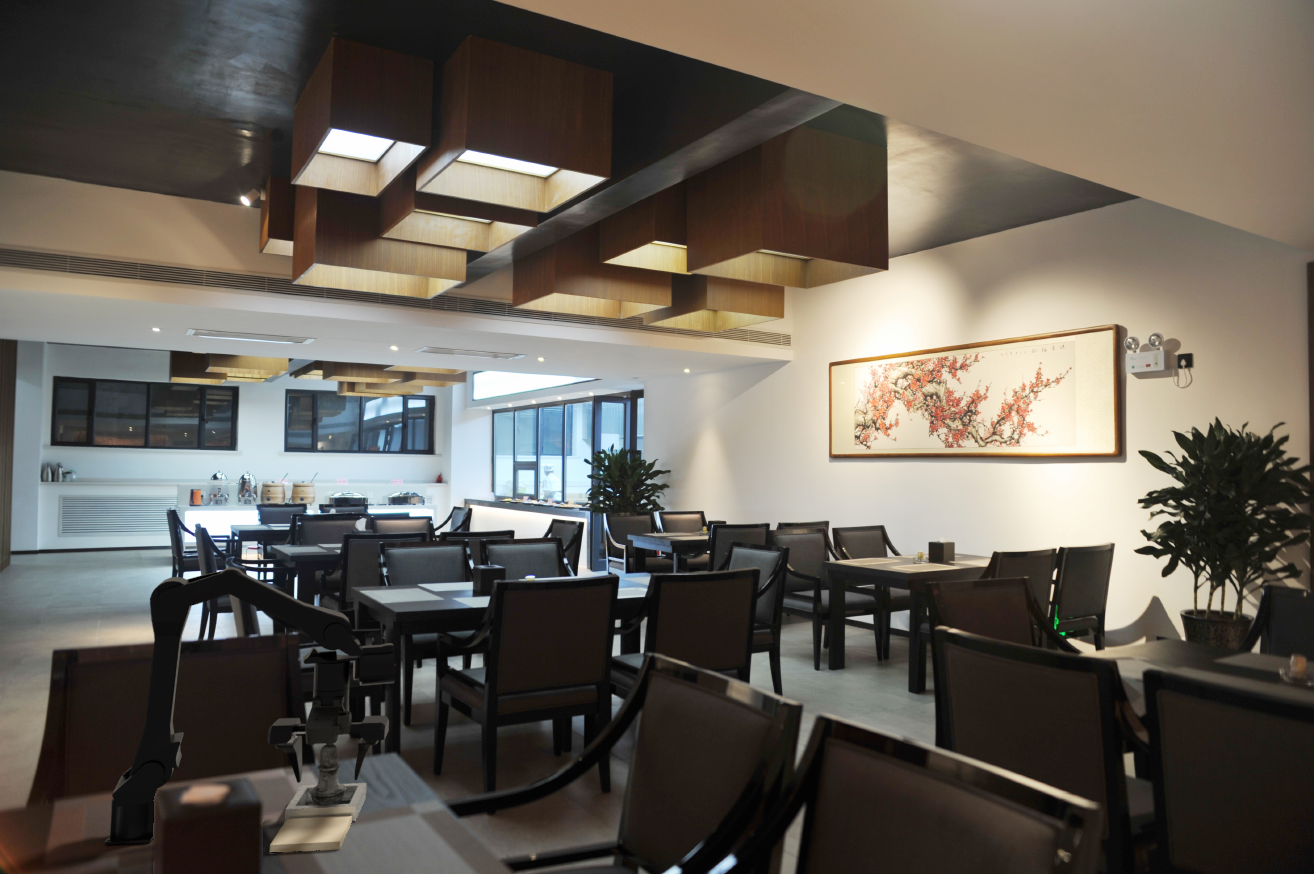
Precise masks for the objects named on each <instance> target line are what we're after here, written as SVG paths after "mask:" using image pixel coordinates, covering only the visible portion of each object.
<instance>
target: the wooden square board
mask: <svg viewBox="0 0 1314 874" xmlns="http://www.w3.org/2000/svg"><path fill="white" fill-rule="evenodd" d="M351 823H353V822H352V816H336V817H315V818H293V819H287V820H286V821H285V820H284V823H283V824H282V826H281V827H280V829H279V831H278V832H277V834H276V835H275V837H274V839H273V840H272V841H271V843H270V845H269V853H270V852H283V853H294V852H293V851H296V852H295V853H298V852H297V851H302V852H315V851H316V850H317V852H318V850H320V851H334V850H335V851H336V850H338V851H339V850H341V847H342V845H343V843H344V841H345V839H346V837H347V835H346V834H348V833H349V831H350V827H351V826H350V825H352V824H351Z"/></svg>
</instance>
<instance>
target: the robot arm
mask: <svg viewBox="0 0 1314 874" xmlns="http://www.w3.org/2000/svg"><path fill="white" fill-rule="evenodd" d="M226 595H229V596H232V597H235V598H237V599H239V600H241V601H243V602H245V603H248V604H249V605H251V606H254V607H255V608H258V609H260V610H261V611H264V612H266V613H269V614H270V615H273V616H274V617H277V618H279V619H280V620H283V621H284V622H287V623H288V624H291V625H293V626H294V627H296V628H297V629H299V631H301V632H303V634H304V635H306V636H307V637H308V638H309V639H311V640H312V641H313V642H315V643H317V644H318V645H319V646H321V647H322V648H323V649H325V650H321V651H320V650H318V649H317V648H316V647H315V646H312V647H311V649H310V650H309V652H308V653H306V654H305V655H303V656H302V661H303V664H304V665H308V664H309V665H310V664H311V665H312V664H313V665H314V669H313V670H314V672H313V689H312V690H313V695H312V703H311V709H310V710H309V714H308V717H307V719H306V723H301V719H300V717H287V718H285V717H283V718H278V719H277V720H276V721H275V722H274V723H273V724H272V725H271V726H270V727H269V728H268V731H267V738H266V739H267V741H266V743H267V744H268V745H275V748H276V749H281V750H282V751H284V752H285V754H286V756H287V758H288V760H289V763H290V765H291V768H292V770H293V775H294V777H295V779H296V782H297V784H298V783H299V784H300V783H301V782H302V777H303V739H302V738H303V737H305V744H306V745H308V746H314V745H318V744H319V745H321V744H322V745H323V744H325V745H327V744H336V742H337V741H338V738H339V737H338V736H343V735H359V737H360V739H359V741H358V743H357V755H356V761H355V767H354V781H358V779H359V777H360V774H361V771H362V768H363V765H364V763H365V760H366V756H367V755H368V751H369V749H370V748H371V747H372V746H376V745H377V744H378V743H379V742H380V741H384V740H385V739H386V737H387V735H388V733H389V727H390V720H389V718H388V717H387V716H386V715H366V716H364V719H362V721H360V722H356V721H355V722H352V721H353V720H352V719H353V717H352V716H353V715H352V712H351V711H350V710H349V705H350V704H349V702H350V698H349V697H350V678H351V677H350V676H351V675H350V674H351V662H353V663H352V665H353V667H352V668H353V669H352V677H353V679H352V680H354V681H357V680H358V683H359V686H373V685H383V684H386V685H387V684H394V683H395V681H396V676H397V675H396V674H397V665H396V659H395V645H394V644H393V643H392V642H389V643H386V642H385V643H383V644H373V645H361V643H360V640H359V639H356V637H355V636H354V635H353V626H352V624H351V623H350V620H349V618H348V616H346V615H345V614H344V613H342V612H340V611H338V610H334V609H330V608H327V607H323V606H318V605H314V604H310V603H306V602H303V601H301V600H299V599H297V598H295V597H294V596H291V595H289V594H287V593H286V592H283V591H281V590H279V589H277V588H275V587H273V586H270V585H269V584H267V583H264V582H263V581H261V580H258V579H256V578H254V577H252V576H251V575H248V574H246V573H244V572H243V571H242V570H241V569H239V568H237V567H233V566H231V567H227V568H224V569H223V570H219V571H216V572H211V573H207V574H202V575H198V576H194V577H192V578H191V577H190V578H188V579H186V578H184V577H181V576H180V577H179V576H172V577H168V578H166V579H164V580H163V581H161V582H160V583H159V584H158V585H157V586H156V587H155V588H154V589H153V591H152V592H151V594H150V597H149V606H150V608H149V609H150V619H151V626H152V631H153V639H154V641H153V649H152V656H151V657H152V658H151V667H150V674H149V686H148V694H147V701H146V702H147V703H146V711H145V720H144V728H143V731H142V734H141V737H140V740H139V743H138V745H137V750H136V752H135V755H134V758H133V761H132V765H131V767H130V768H129V769H127V770H126V771H125V772H124V773H123V774H122V775H121V776H120V778H119V780H118V782H117V784H116V786H115V788H114V790H113V792H112V799H111V811H110V826H109V827H110V828H109V831H110V832H109V836H108V838H106V839H105V840H104V845H106V846H107V845H127V844H128V845H129V844H148V843H150V842H152V841H153V840H154V839H153V823H154V801H153V800H154V796H155V793H156V791H158V789H160V788H162V787H163V786H164V785H165V784H167V783H168V782H169V781H170V779H171V777H172V775H173V772H174V769H175V770H178V769H179V765H180V762H181V759H182V756H183V755H182V752H181V743H182V740H183V737H184V732H183V731H180V732H176V733H175V730H174V722H173V721H174V720H173V719H174V711H175V710H174V709H175V700H176V691H177V683H178V673H179V666H180V665H179V664H180V657H181V648H182V640H183V634H184V631H185V628H186V625H187V623H188V622H187V621H188V618H189V616H190V613H191V609H192V606H196V605H199V604H202V603H205V602H208V601H210V600H214V599H218V598H220V597H222V596H226ZM337 650H340V651H341V652H342V653H344V654H338V653H337ZM152 839H153V840H152ZM151 840H152V841H151Z"/></svg>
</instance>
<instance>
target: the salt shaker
mask: <svg viewBox="0 0 1314 874" xmlns="http://www.w3.org/2000/svg"><path fill="white" fill-rule="evenodd" d="M319 754H320V756H319V765H318V766H317V769H318V770H319V771H318V773H319V774H318V781H317V784H316V785H317V786H315V787H313V788H312V789H310V791H309V793H310V794H311V798H312V801H313V802H312V803H313V804H314V805H334V804H339V803H340V802H342V801H341V800H342V798H343V795H344V791H345V790H346V786H345V785H343V784H344V783H340V782H339V768H340V767H341V764H339V746H337V745H336V743H333V744H325V745H323V746H322V747H321V749H320V753H319Z"/></svg>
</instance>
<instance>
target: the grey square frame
mask: <svg viewBox="0 0 1314 874" xmlns="http://www.w3.org/2000/svg"><path fill="white" fill-rule="evenodd" d="M342 784H343V785H345V786H346V790H345V791H344V795H343V798H342V800H341V801H340V802H343V801H345V802H348V801H349V803H341V804H339V803H338V804H334V805H316V804H314V805H306V804H308V803H313V801H312V798H311V794H310V793H309V791H310V789H312V788H313V787H315V786H317V785H318V784H310V785H309V784H306V785H305V784H304V785H300V787H299V789H298V790H297V792H296V793H295V795H294V796H293V798H292V799H291V801H290V802H289V803H288V805H287V807H286V808H285V812H284V813H285V814H284V815H285V817H284V822H285V821H286V820H287V819H293V818H315V817H336V816H352V821H355V822H356V821H357V819H356V818H358V816H359V814H360V812H361V809H362V808H363V807H362V806H363V805H364V803H365V801H366V798H367V786H368V785H367V782H357V783H342Z"/></svg>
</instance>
